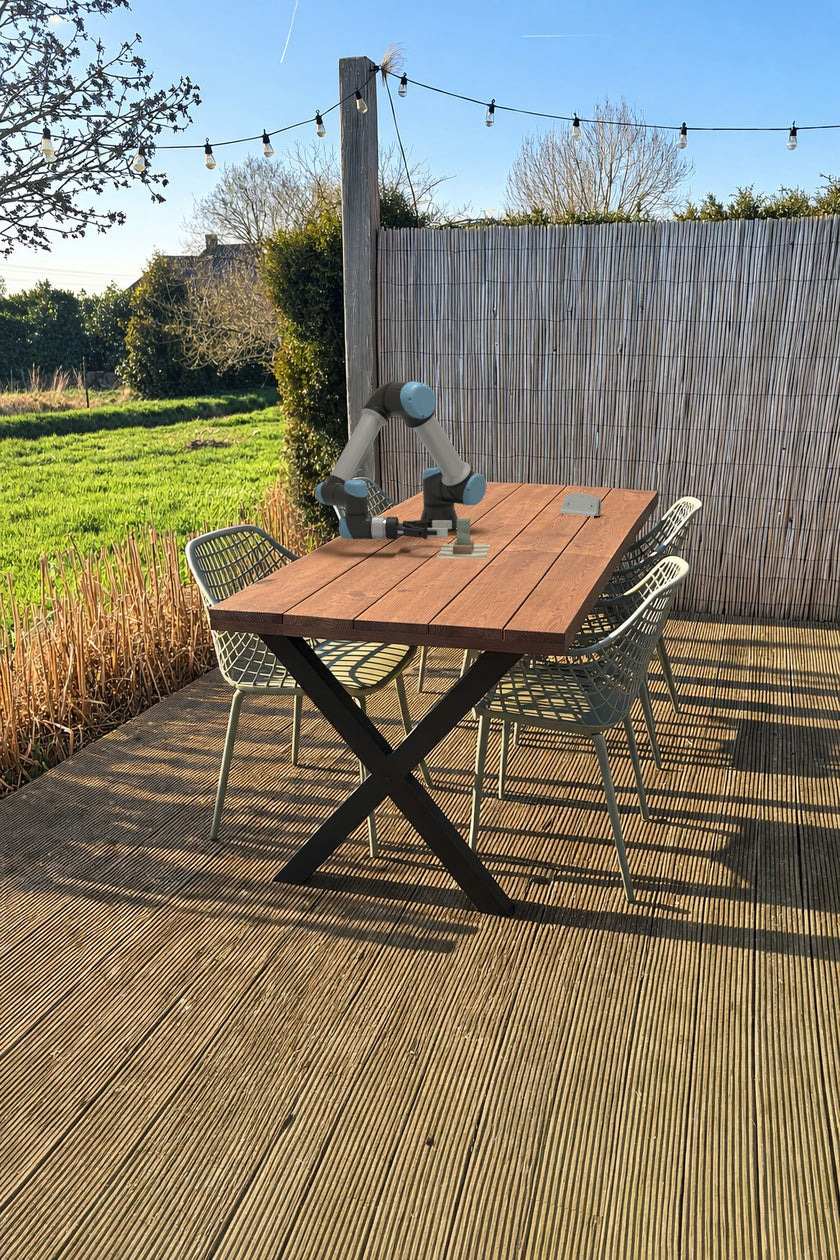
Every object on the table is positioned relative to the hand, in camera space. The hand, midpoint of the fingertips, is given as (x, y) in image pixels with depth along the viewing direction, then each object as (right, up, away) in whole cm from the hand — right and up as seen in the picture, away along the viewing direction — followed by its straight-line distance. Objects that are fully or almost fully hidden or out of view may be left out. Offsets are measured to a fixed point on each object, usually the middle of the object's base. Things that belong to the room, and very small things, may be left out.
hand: (449, 528), depth 322 cm
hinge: (+55, +12, +70) cm, 90 cm away
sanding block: (+5, -7, +2) cm, 9 cm away
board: (+5, -9, +2) cm, 10 cm away
